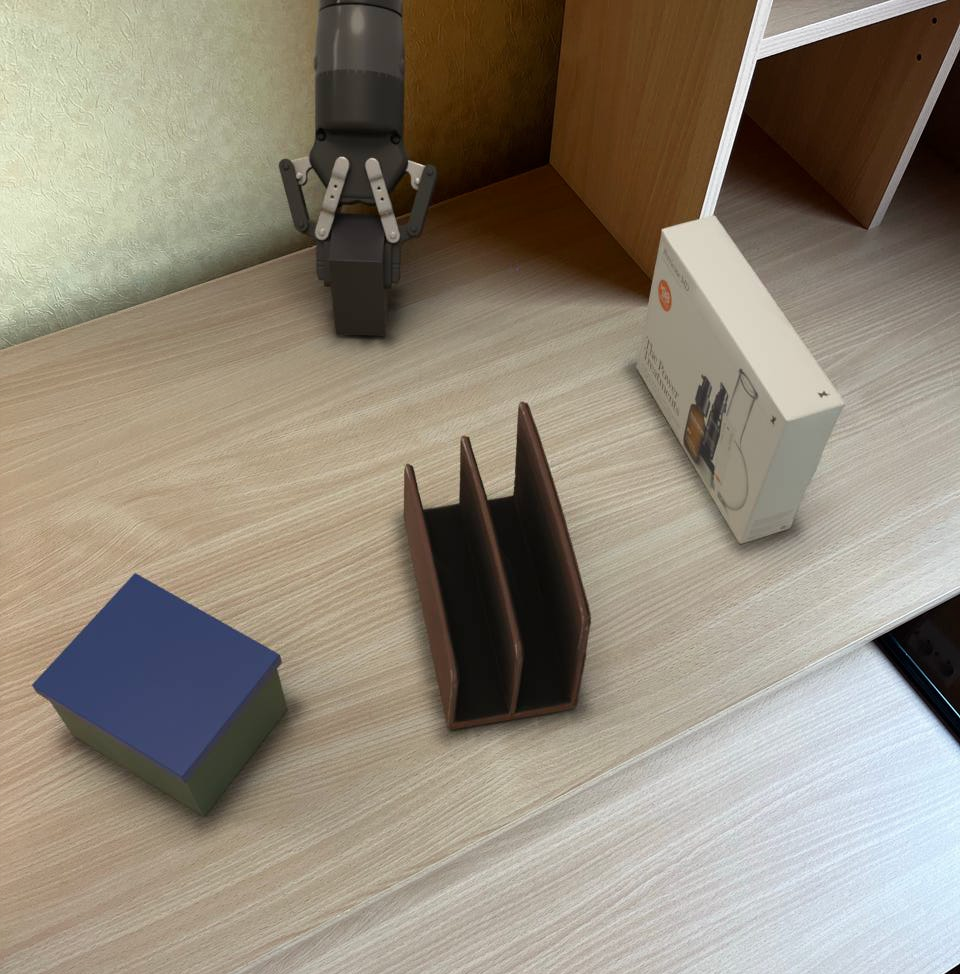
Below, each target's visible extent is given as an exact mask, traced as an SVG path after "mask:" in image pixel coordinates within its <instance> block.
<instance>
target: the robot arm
mask: <svg viewBox="0 0 960 974" xmlns="http://www.w3.org/2000/svg"><path fill="white" fill-rule="evenodd" d="M317 11H318V13H317V24H316V31H315V32H316V33H315V40H314V41H315V43H314V44H315V45H314V57H313V70H314V141H313V145H312V147H311V149H310V151H309V153H308V155H306V156H302V157H298V158H294V159H289V158H282V159H280V161H279V163H278V169H279V173H280V178H281V180H282V181H281V182H282V185H283V187H284V188H283V189H284V192H285V196H286V200H287V203H288V207H289V211H290V215H291V218H292V219H291V220H292V222H293V227H294V229H295V230H296V231H298V232H299V233H300V234H302V235H305V236H308V237H310V238H313V240H314V241H315V259H316V260H315V274H316V277H317V279H318V280H319V281H323V287H324V288H325V289H326V288H327V289H331V284H330V273H329V263H328V257H329V249H330V240H331V232H332V225H333V222H334V218H335V216H337V215H338V213H342V209H343V206H354V205H358V204H362V205H364V206H367V207H376V209H377V211H378V215H380V218H381V221H382V224H383V228H384V231H385V235H386V244H385V245H384V289H385V290H389V291H393V287H394V286H393V285H394V284H399V282H400V279H401V265H402V261H401V260H402V246H403V245H404V244H405V243H406V242H408V241H412V240H414V239H419V238H420V237H421V236H422V233H423V229H424V226H425V223H426V220H427V215H428V212H429V209H430V205H431V202H432V198H433V194H434V191H435V187H436V184H437V181H438V170H437V168H436V166H435V165H434V164H429V163H428V164H426V165H424V164H421V163H417V162H416V161H414V160H413V161H412V160H409V157H408V154H407V152H406V149H405V146H404V134H405V133H404V132H405V131H404V129H405V127H404V126H405V125H404V124H405V75H406V74H405V73H406V47H405V38H404V37H405V36H404V27H403V23H404V22H403V21H404V20H403V16H404V15H403V11H404V0H317ZM311 170H313V171H314V173H315V174H316V176H317V177H318V179H319V180H320V181H321V183H322V185H323V186H324V188H325V189H326V191H325V194H324V198H323V201H322V204H321V208H320V213H319V217H318V220H317V222H315V221H313V220H311V219H310V215H309V211H308V207H307V203H306V199H305V195H304V192H303V187H304V186H305V185H307V183H308V174H309V172H310V171H311ZM406 174H408V175H409V176H410V185H411V188H412V189H413V190H414V191H416V193H415V197H414V200H413V204H412V207H411V211H410V215H409V217H408V218H409V219H408V222H407V223H405V224H402V225H399V224H398V221H397V218H396V217H397V216H396V214H395V210H394V207H393V204H392V200H391V197H390V196H391V194H392V193H393V192H394V190H395V189H396V188H397V186H398V185H399V184H400V182H401V181H402V179H403V178H404V176H405V175H406Z"/></svg>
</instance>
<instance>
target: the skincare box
mask: <svg viewBox="0 0 960 974" xmlns="http://www.w3.org/2000/svg"><path fill="white" fill-rule="evenodd" d="M660 234H661V235H660V238H659V239H660V240H659V243H658V244H659V245H658V250H657V255H656V260H655V266H654V271H653V276H652V281H651V287H650V292H649V297H648V304H647V309H646V313H645V319H644V323H643V324H644V325H643V329H642V330H643V331H642V335H641V341H640V346H639V351H638V355H637V361H636V366H635V368H636V370H637V371H638V373H639V375H640V376H641V378H642V380H643V382H644V384H645V385H646V387H647V389H648V391H649V393H650V394H651V396H652V398H653V399H654V401H655V402H656V404H657V406H658V408H659V409H660V411H661V412H662V414H663V416H664V418H665V420H666V421H667V423H668V425H669V426H670V428H671V430H672V431H673V433H674V435H675V436H676V439H677V440H678V442H679V444H680V445H681V447H682V448H683V450H684V452H685V454H686V456H687V457H688V459H689V461H690V462H691V464H692V466H693V467H694V469H695V471H696V473H697V474H698V476H699V478H700V479H701V481H702V483H703V484H704V486H705V489H706V490H707V491H708V493H709V494H710V497H711V499H712V500H713V502H714V503H715V505H716V507H717V508H718V510H719V512H720V514H721V515H722V517H723V519H724V520H725V522H726V524H727V525H728V527H729V528H730V531H731V532H732V534H733V536H734V538H735V539H736V541H737V542H738V544H739V545H741V544H745V543H749V542H752V541H755V540H759V539H761V538H764V537H767V536H770V535H773V534H777V533H780V532H783V531H786V530H789V529H790V528H791V527H792V525H793V522H794V520H795V518H796V515H797V513H798V510H799V509H800V505H801V503H802V501H803V498H804V496H805V494H806V492H807V489H808V487H809V486H810V484H811V482H812V480H813V478H814V475H815V473H816V472H817V468H818V466H819V464H820V462H821V460H822V458H823V453H824V451H825V448H826V447H827V444H828V442H829V440H830V437H831V435H832V433H833V431H834V429H835V426H836V423H837V421H838V419H839V417H840V415H841V413H842V412H843V409H844V407H845V406H846V402H845V400H844V399H843V398H842V396H841V394H840V393H839V392H838V390H837V389H836V387H835V386H834V384H833V383H832V381H831V380H830V378H829V377H828V376H827V374H826V373H825V371H824V370H823V369H822V367H821V366H820V364H819V363H818V362H817V360H816V358H815V356H813V354H812V353H811V351H810V349H809V348H808V347H807V346H806V343H805V342H804V341H803V340H802V338H801V337H800V335H799V334H798V332H797V331H796V330H795V328H794V327H793V326H792V324H791V323H790V320H788V318H787V317H786V315H785V314H784V312H783V311H782V309H781V308H780V307H779V305H778V303H777V302H776V301H775V299H774V298H773V296H772V295H771V294H770V292H769V291H768V289H767V288H766V286H765V285H764V284H763V282H762V280H761V278H760V277H758V275H757V273H756V271H754V269H753V267H752V266H751V265H750V263H749V262H748V261H747V259H746V257H745V256H744V254H742V251H741V250H740V248H739V247H738V246H737V245H736V244H735V242H734V240H733V239H732V238H731V236H730V235H729V233H728V232H727V231H726V228H725V227H724V226H723V224H722V223H721V222H720V220H719V219H718V217H717V216H716V215H715V214H712V215H709V216H705V217H701V218H697V219H693V220H690V221H685V222H681V223H678V224H675V225H671V226H668V227H664V228H662V229H661V233H660Z"/></svg>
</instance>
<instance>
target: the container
mask: <svg viewBox="0 0 960 974" xmlns="http://www.w3.org/2000/svg"><path fill="white" fill-rule="evenodd" d="M282 664H283V661H282V658H281V653H278V652H276V651H274V650H273V649H271V648H269V647H267V646H265V645H264V644H262V643H260V642H258V641H256V640H255V639H254V638H251V637H250V636H248V635H246V634H244V633H242V632H241V631H239V630H237V629H235V628H234V627H232V626H230V625H229V624H227V623H224V622H223V621H221V620H219V619H218V618H216V617H214V616H212V615H211V614H209V613H207V612H205V611H203V610H202V609H200V608H198V607H196V606H195V605H194V604H193V605H192V604H191V603H189V602H187V601H186V600H185V599H182V598H180V597H179V596H177V595H175V594H173V593H172V592H170V591H168V590H167V589H165V588H163V587H161V586H159V585H158V584H155V583H154V582H152V581H150V580H148V579H147V578H146V577H143V576H142V575H140V574H138V573H136V572H135V573H133V575H132V576H130V578H129V579H128V580H127V581H125V583H124V584H123V585H122V586H121V588H119V589H118V591H117V592H116V593H115V594H114V595H113V596H112V597H111V598H110V599H109V600H108V602H107V603H105V605H103V607H102V608H101V609H100V610H99V611H98V613H97V614H96V615H95V616H94V617H93V618H92V619H91V620H90V621H89V622H88V623H87V624H86V625H85V627H84V628H83V629H82V630H81V631H80V632H79V633H78V634H77V635H76V636H75V637H74V638H73V640H72V641H70V643H69V644H68V645H67V646H66V647H65V648H64V649H63V650H62V651H61V653H60V654H59V655H58V656H57V657H56V658H55V659H54V660H53V661H52V662H51V663H50V664H49V666H48V667H46V668H45V670H44V671H43V672H42V673H41V674H40V675H39V677H37V679H35V680H34V682H33V683H32V684H31V686H32V688H33V690H34V691H35V693H36V694H37V695H38V696H40V697H42V698H44V699H46V700H47V701H49V702H50V704H51V705H52V707H53V708H54V710H55V711H56V712H57V714H58V716H59V717H60V719H61V720H62V722H63V723H64V725H65V726H66V728H67V729H68V731H69V732H70V733H71V736H73V737H74V738H75V739H77V740H79V741H80V742H82V743H83V744H85V745H86V746H89V747H90V748H91V749H93V750H94V751H96V752H98V753H100V754H101V755H103V756H104V757H106V758H108V759H109V760H111V761H112V762H114V763H116V764H117V765H119V766H121V767H122V768H124V769H125V770H127V771H129V772H131V773H132V774H134V775H135V776H137V777H139V778H140V779H142V780H144V781H145V782H147V783H148V784H150V785H151V786H152V787H155V789H158V790H160V791H161V792H163V793H165V795H168V796H169V797H171V798H172V799H174V800H176V801H177V802H179V803H181V804H182V805H184V806H185V807H187V808H189V809H190V810H192V811H194V812H195V813H197V814H198V815H199V816H202V817H206V816H207V815H208V813H209V812H210V810H211V809H212V808H213V807H214V805H215V804H216V803H217V801H218V800H219V799H220V797H222V795H223V793H224V792H225V791H226V790H227V788H228V787H229V786H230V785H231V784H232V782H233V781H234V779H235V778H236V777H237V775H238V774H239V773H240V771H241V770H242V769H243V767H245V765H246V764H247V762H248V761H249V760H250V759H251V757H252V756H253V755H254V754H255V752H256V751H257V750H258V749H259V747H260V746H261V744H262V743H263V741H265V740H266V738H267V737H268V735H269V734H270V733H271V731H272V730H273V729H274V728H275V726H276V725H277V724H278V722H279V721H280V720H281V719H282V717H283V716H284V714H286V712H287V711H288V706H287V702H286V698H285V694H284V691H283V690H284V689H283V686H282V682H281V678H280V674H279V671H278V669H279V668H280V666H281V665H282Z"/></svg>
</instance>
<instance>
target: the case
mask: <svg viewBox="0 0 960 974" xmlns="http://www.w3.org/2000/svg"><path fill="white" fill-rule="evenodd" d="M385 244H386V235H385V231H384V228H383V224H382V221H381V218H380V215H379V214H370V213H349V212H347V213H346V212H340V213H338V215H337V216H335V218H334V222H333V225H332V232H331V240H330V249H329V257H328V263H329V273H330V284H331V288H330V292H331V293H330V294H331V302H332V303H331V304H332V313H333V324H334V333H335V334H336V335H352V336H353V335H354V336H355V335H356V336H378V337H379V336H380V337H386V335H387V324H388V312H389V311H388V308H389V296H390V290H385V289H384V245H385Z"/></svg>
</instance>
